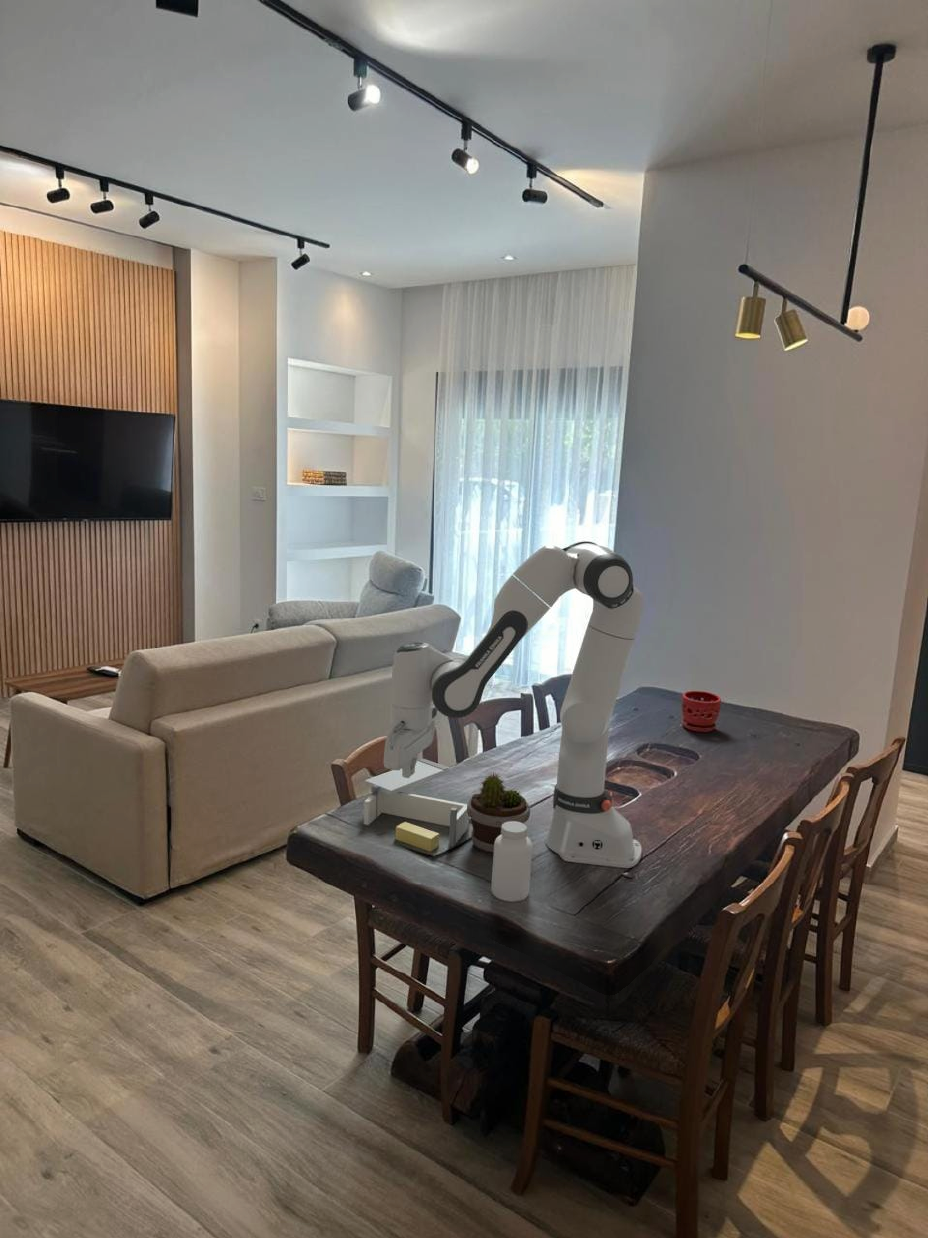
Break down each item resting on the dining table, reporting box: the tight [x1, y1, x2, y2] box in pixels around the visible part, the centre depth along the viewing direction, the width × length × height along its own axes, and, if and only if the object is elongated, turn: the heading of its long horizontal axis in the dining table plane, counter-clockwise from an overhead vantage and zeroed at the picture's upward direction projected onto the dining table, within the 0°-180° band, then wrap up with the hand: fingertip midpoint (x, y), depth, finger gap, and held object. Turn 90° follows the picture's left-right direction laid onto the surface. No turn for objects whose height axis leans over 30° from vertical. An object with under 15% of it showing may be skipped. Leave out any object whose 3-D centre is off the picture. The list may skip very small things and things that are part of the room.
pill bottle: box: [490, 821, 533, 903], centre depth 172 cm, size 8×8×15 cm
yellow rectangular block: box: [395, 821, 440, 852], centre depth 194 cm, size 10×3×3 cm, turn 57°
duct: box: [363, 791, 471, 847], centre depth 201 cm, size 24×11×9 cm, turn 71°
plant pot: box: [681, 690, 722, 733], centre depth 289 cm, size 13×13×12 cm
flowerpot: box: [467, 770, 531, 856], centre depth 192 cm, size 14×15×20 cm
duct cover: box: [364, 758, 450, 795], centre depth 213 cm, size 24×9×1 cm, turn 141°
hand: (408, 775), depth 184 cm, fingers closed
